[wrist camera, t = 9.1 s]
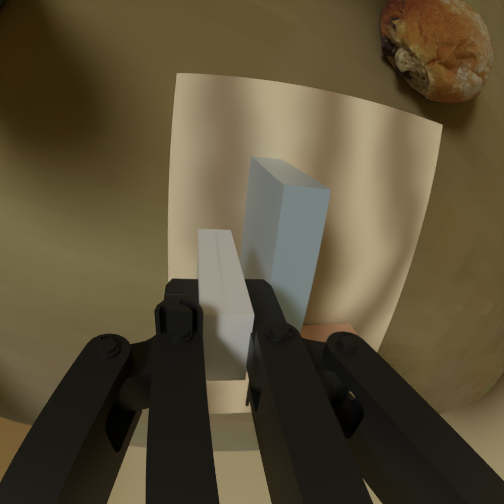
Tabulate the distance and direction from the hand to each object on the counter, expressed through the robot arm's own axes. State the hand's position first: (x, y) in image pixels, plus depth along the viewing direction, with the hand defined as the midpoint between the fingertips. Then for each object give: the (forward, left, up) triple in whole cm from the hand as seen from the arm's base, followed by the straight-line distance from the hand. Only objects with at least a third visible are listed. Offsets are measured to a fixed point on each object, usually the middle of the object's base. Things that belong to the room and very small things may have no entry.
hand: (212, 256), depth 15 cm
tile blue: (+3, 0, -6) cm, 7 cm away
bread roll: (+16, +16, -8) cm, 23 cm away
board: (+7, -6, -7) cm, 12 cm away
